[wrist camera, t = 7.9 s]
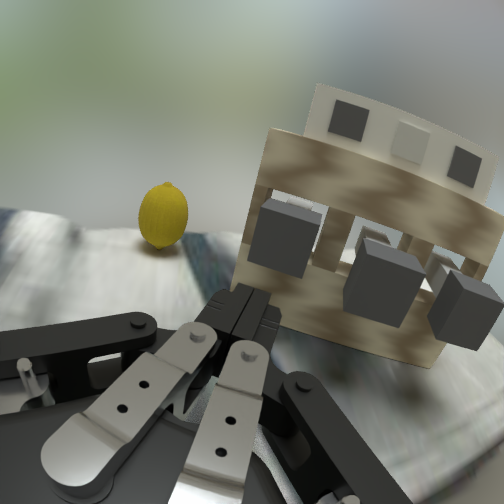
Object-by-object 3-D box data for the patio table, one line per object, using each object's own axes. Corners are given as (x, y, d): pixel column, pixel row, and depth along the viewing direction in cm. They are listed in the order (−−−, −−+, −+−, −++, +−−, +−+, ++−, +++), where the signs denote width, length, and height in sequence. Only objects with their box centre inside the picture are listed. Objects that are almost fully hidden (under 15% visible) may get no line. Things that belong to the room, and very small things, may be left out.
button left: (246, 260, 22) (260, 206, 20) (274, 222, 31) (284, 184, 29) (301, 279, 21) (320, 225, 20) (312, 235, 30) (325, 196, 29)
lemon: (180, 263, 34) (192, 193, 30) (131, 256, 33) (138, 184, 29) (184, 242, 39) (194, 180, 35) (140, 235, 37) (148, 173, 34)
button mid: (342, 311, 19) (367, 253, 17) (342, 253, 28) (356, 212, 26) (398, 328, 18) (426, 274, 17) (382, 267, 27) (397, 227, 26)
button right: (435, 339, 18) (463, 288, 16) (409, 276, 27) (426, 238, 25) (476, 351, 17) (505, 304, 16) (443, 288, 26) (460, 252, 25)
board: (226, 306, 29) (269, 127, 22) (244, 278, 34) (282, 129, 28) (429, 368, 26) (508, 218, 19) (419, 334, 31) (480, 203, 25)
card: (302, 136, 22) (316, 82, 20) (303, 136, 23) (317, 84, 21) (485, 206, 20) (500, 157, 18) (481, 204, 21) (496, 156, 19)
